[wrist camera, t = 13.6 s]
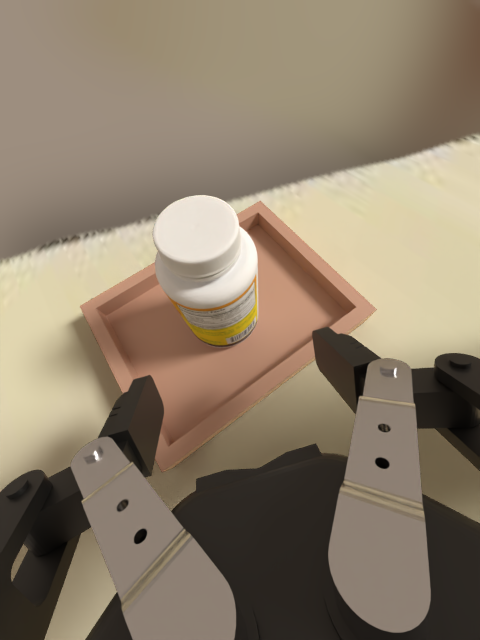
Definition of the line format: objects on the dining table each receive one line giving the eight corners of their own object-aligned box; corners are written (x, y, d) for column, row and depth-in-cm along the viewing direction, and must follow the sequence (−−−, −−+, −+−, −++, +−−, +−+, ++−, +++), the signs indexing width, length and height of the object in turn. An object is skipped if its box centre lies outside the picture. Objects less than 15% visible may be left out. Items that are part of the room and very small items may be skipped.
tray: (260, 219, 26) (260, 200, 24) (364, 321, 21) (376, 309, 19) (96, 317, 22) (79, 306, 20) (173, 467, 17) (161, 472, 15)
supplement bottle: (201, 282, 22) (159, 175, 13) (264, 293, 21) (268, 187, 12) (181, 342, 20) (113, 267, 11) (250, 357, 19) (241, 289, 10)
